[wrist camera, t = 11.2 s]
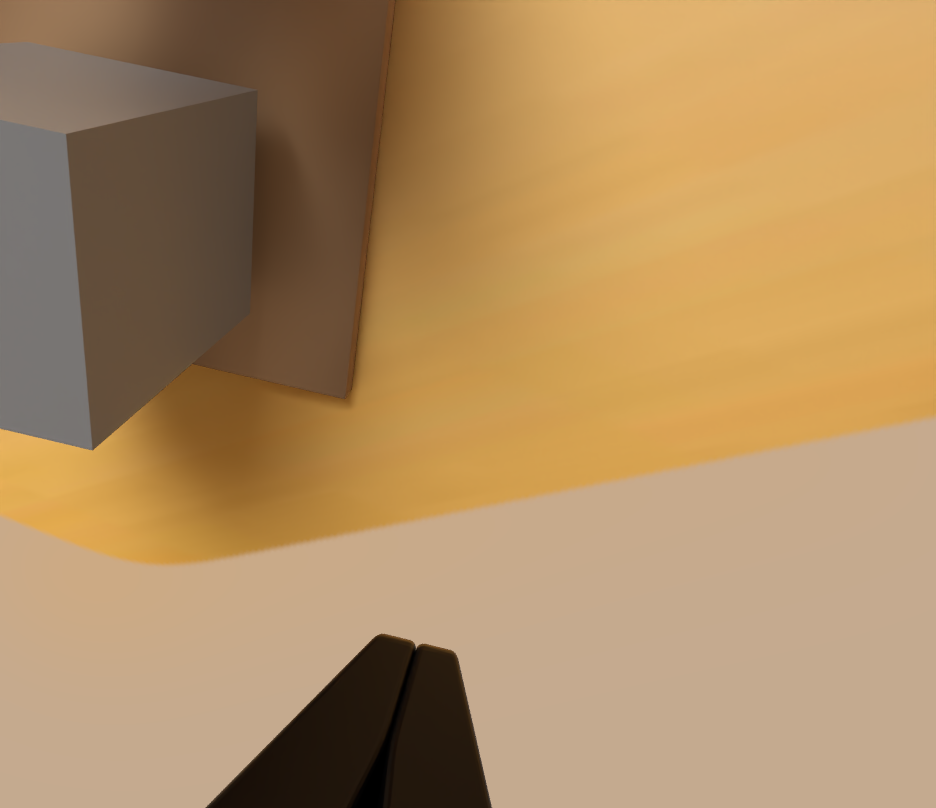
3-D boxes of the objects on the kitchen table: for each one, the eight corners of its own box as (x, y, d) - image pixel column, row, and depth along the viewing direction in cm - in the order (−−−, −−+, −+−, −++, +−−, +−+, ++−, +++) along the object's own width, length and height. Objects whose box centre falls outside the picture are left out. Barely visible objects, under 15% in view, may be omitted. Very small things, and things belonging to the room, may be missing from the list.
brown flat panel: (396, -15, 16) (256, -33, 9) (351, 389, 21) (237, 565, 14) (-40, -103, 17) (-465, -180, 10) (14, 311, 21) (-249, 446, 15)
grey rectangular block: (257, 90, 16) (65, 133, 10) (249, 313, 18) (92, 449, 13) (27, 41, 16) (-286, 58, 10) (51, 268, 19) (-193, 383, 13)
